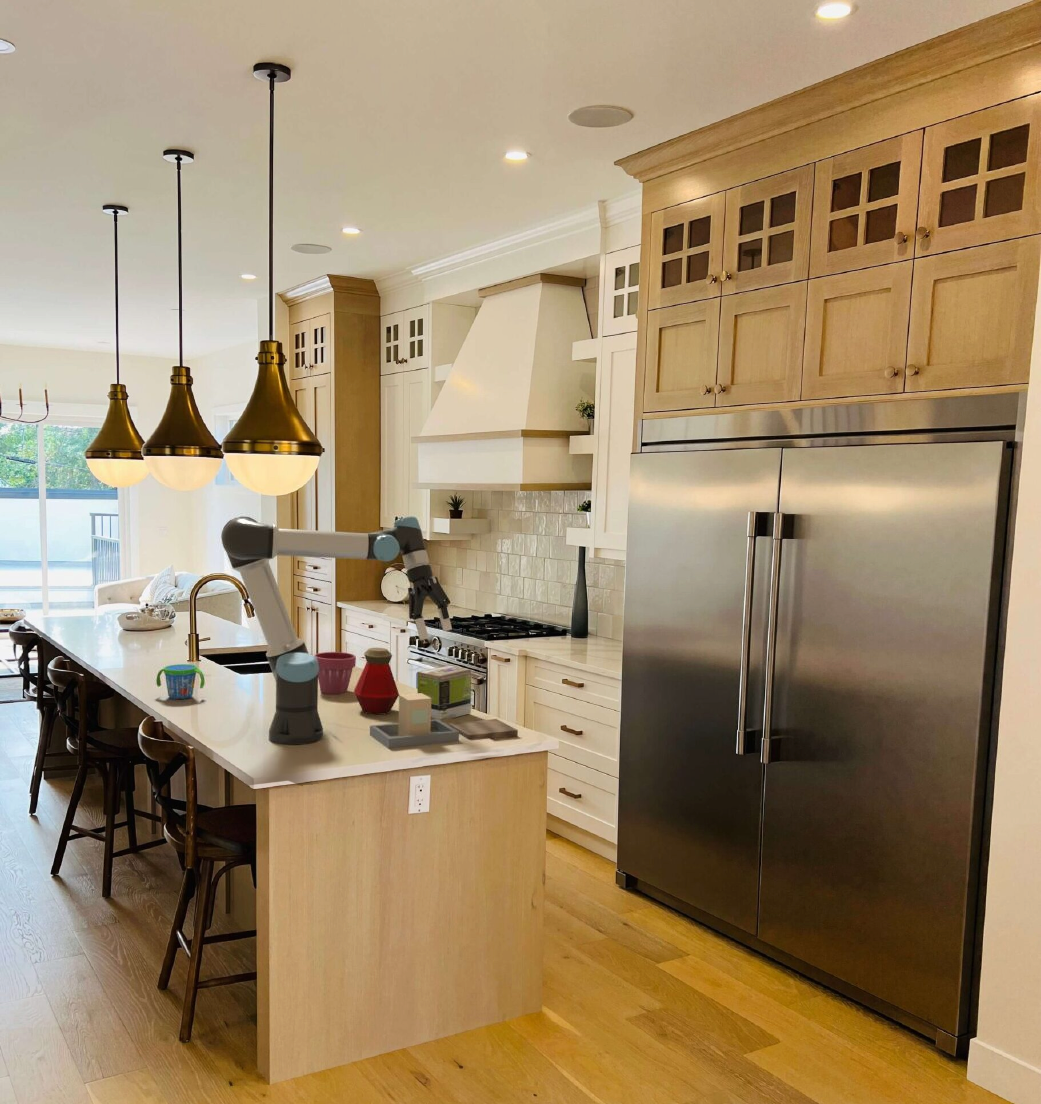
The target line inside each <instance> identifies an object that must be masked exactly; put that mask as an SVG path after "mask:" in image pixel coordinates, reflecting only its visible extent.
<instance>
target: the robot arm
mask: <svg viewBox="0 0 1041 1104" xmlns="http://www.w3.org/2000/svg"><path fill="white" fill-rule="evenodd" d="M220 537H221V544H222V546H223V548H224V551H225V552H226V555H227V557H228V558H227V559H228V560H229V562H230V566H231V567H232V569H233V570H235V571H236V572H239V573H240V576H241V579H242V580H243V581H242V582H243V584H244V586H245V589H246V592H247V594H248V598H249V600H250V603H251V605H252V607H253V609H254V613H255V616H256V618H257V620H258V623H259V626H260V628H261V631H262V633H263V636H264V639H265V641H266V644H267V646H268V649H267V651H266V653H265V656H266V659H267V662H268V664H269V666H270V670H271V672H272V675H273V678H274V682H275V712H274V715H273V718H272V721H271V724H270V727H269V730H268V740H270V741H271V742H274V743H276V744H277V743H278V744H282V745H304V744H305V745H306V744H310V743H311V744H312V743H315V742H316V743H317V742H318V741H321V740H322V739H324V728H323V724H322V720H321V717H320V714H319V710H318V704H319V701H318V699H319V698H318V697H319V696H318V695H319V694H318V693H319V680H318V672H319V665H318V660H317V658H316V657H315V656H314V655H313V654H310V653H309V651H308V649H307V646H306V643H305V640H304V639H302V638H299V637H298V636H297V634H296V631H295V628H294V626H293V623H292V621H291V618H290V615H289V612H288V610H287V607H286V604H285V602H284V599H283V597H282V593H281V591H280V589H279V587H278V583H277V581H276V580H277V579H276V578H275V576H274V573H273V570H272V568H271V565H270V560H271V559H272V560H273V559H274V558H276V557H277V556H279V557H280V556H282V557H284V556H286V557H306V558H307V557H308V558H332V559H351V560H352V559H353V560H354V559H355V560H357V559H358V560H372V561H373V560H374V561H381V562H391V561H393V560H394V559H395V560H396V558H397V557H398V555H399V553H400V554H401V556H402V560H403V565H404V569H405V570H406V576H407V580H408V582H409V583H412V584H413V585H412V587H408V588H407V592H408V608H409V609H408V617H409V619H410V620H414V623H415V627H416V630H417V632H418V637H419V641H424V640H428V639H429V634H428V631H427V626H426V623H425V620H424V619H425V618H424V616H423V610H424V603H425V602H424V601H425V600H426V598H427V597H429V599H430V600H431V601H432V602H433V603H434V604H435V605H436V606H437V612H438V616H439V621H440V624H441V627H442V631H443V632H446V631H447V632H448V631H451V630H453V628H452V623H451V619H450V615H449V610H448V607H449V605H450V604H451V600H450V599H449V597H448V595H447V593H446V592H445V590H444V588H443V587H442V586H441V584H440V581H439V578H438V577H437V576H434V573H433V570H432V567H431V565H430V564H429V563H430V559H429V556H428V552H427V548H426V544H425V540H424V537H423V533H422V528H421V525H420V523H419V519H418V518H417V517H415V516H412V515H411V516H410V515H409V516H405V517H402V518H398V519H397V520H394V522H393V527H391V528H388V529H383V530H378V531H374V532H368V533H366V532H363V533H361V532H349V531H347V532H346V531H333V530H332V531H329V530H314V529H313V530H311V529H309V530H308V529H295V528H294V529H292V528H279V527H278V526H276V525H275V524H271V523H269V524H267V523H261V522H258V521H257V520H256V519H254V518H253V517H250V516H243V515H242V516H237V517H234V518H232V519H230V520H229V521H228V522H226V523H225V525H224V527H223V528H222V530H221V536H220ZM433 576H434V577H433Z"/></svg>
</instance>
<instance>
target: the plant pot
mask: <svg viewBox="0 0 1041 1104" xmlns="http://www.w3.org/2000/svg"><path fill="white" fill-rule="evenodd" d="M313 656H315V657H316V658H317V660H318V665H319V672H318V686H319V689H320V690H319V691H320V693H322V694H325V695H326V694H327V695H341V694H346V693H347V692H348V689H349V685H350V682H351V677H352V674H353V673H352V672H353V669H354V668H355V667H356V665H357V664H356V662H357V659H356V655H355V654H353V653H350V652H349V653H348V652H343V651H342V652H341V651H325V652H319V653H316V654H314V655H313Z"/></svg>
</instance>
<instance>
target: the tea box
mask: <svg viewBox="0 0 1041 1104" xmlns="http://www.w3.org/2000/svg"><path fill="white" fill-rule="evenodd" d="M418 693H422V694H424V695H426V696H428V697H430V698H431V719H433V720H434V719H438V720H440V721H441V720H443V719H448V718H452V719H454V718H457V717H461V716H466V715H470V714H471V713H472V712H471V711H472V707H471V706H472V701H471V700H472V669H471V668H470V669H468V668H463V667H459V666H452V665H444V666H440V667H435V668H430V669H429V668H428V669H425V670H420V671H417V692H416V694H418Z"/></svg>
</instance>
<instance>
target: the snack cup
mask: <svg viewBox="0 0 1041 1104" xmlns="http://www.w3.org/2000/svg"><path fill="white" fill-rule="evenodd" d="M162 673H163V674H164V676H165V682H166V684H165V685H166V690H167V694H168V695H167V696H168V697H169V699H170V700H186V699H191V698H192V696H193V694H194V688H195V682H196V675H197V674H198V675H199V677H200V684H199V685H200V687H199V688H200V689H203V688H204V686H205V675H204V673H203V671H202V670H200V668H198V666H197V665H195V664H189V663H185V664H184V663H182V664H181V663H180V664H179V663H178V664H177V663H176V664H171V665H167V666H164V667H163V668H162V669H160V670H159V671H158V672H157V675H156V680H155V681H156V683H155V684H156V686H157V687H161V686H162V683H161V682H162V681H161V675H162Z"/></svg>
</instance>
